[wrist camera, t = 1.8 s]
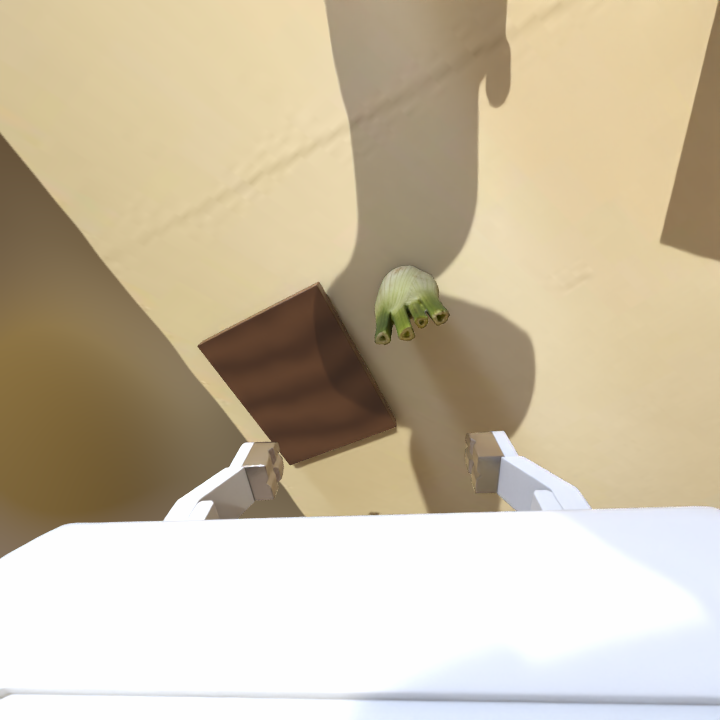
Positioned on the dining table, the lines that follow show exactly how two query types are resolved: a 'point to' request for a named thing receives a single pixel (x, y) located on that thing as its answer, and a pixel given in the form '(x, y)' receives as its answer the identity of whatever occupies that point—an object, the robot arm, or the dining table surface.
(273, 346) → the cutting board
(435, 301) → the fennel bulb
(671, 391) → the dining table surface
